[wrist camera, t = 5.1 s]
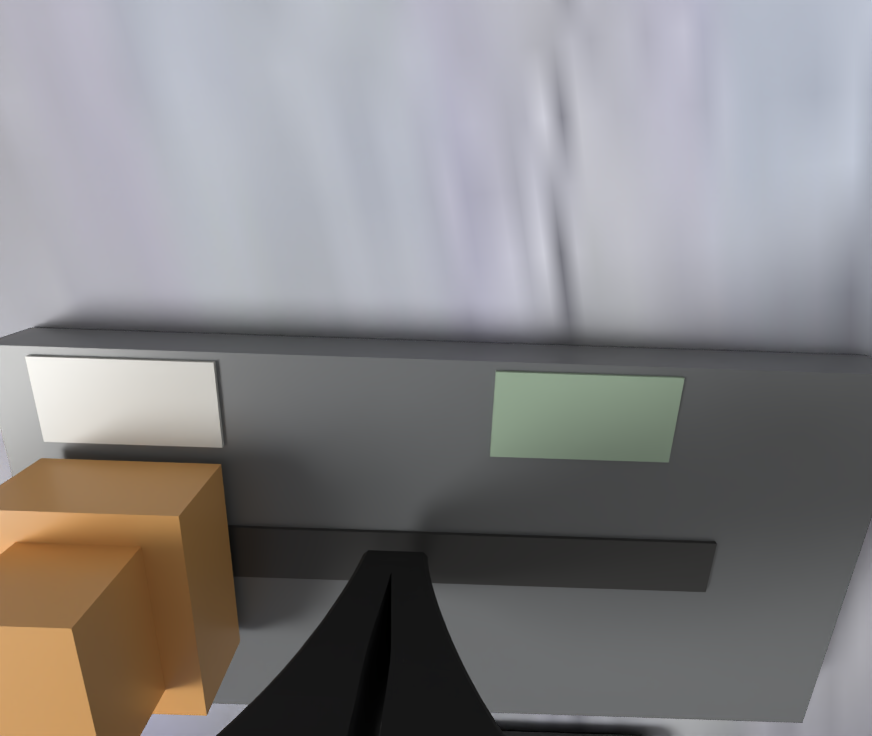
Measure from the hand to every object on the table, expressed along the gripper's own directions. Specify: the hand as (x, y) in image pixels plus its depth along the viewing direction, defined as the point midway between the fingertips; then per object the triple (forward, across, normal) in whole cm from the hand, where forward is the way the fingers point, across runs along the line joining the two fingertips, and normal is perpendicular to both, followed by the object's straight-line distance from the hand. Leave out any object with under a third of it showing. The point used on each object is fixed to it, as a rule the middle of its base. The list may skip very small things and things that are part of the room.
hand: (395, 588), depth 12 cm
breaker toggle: (+1, +6, 0) cm, 6 cm away
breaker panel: (+3, -1, 0) cm, 3 cm away
